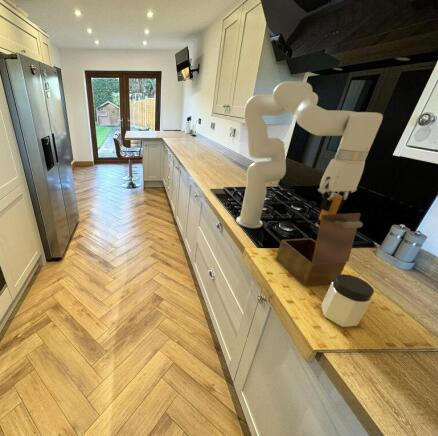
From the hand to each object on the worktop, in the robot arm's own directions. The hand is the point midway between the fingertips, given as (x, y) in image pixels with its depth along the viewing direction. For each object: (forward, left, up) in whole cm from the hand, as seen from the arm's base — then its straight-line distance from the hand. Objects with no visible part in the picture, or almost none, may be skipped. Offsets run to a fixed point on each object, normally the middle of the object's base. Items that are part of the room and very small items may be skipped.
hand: (329, 208), depth 81 cm
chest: (+5, -3, -23) cm, 24 cm away
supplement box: (0, 0, -5) cm, 5 cm away
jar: (+26, -1, -23) cm, 35 cm away
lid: (+11, -1, -6) cm, 12 cm away
